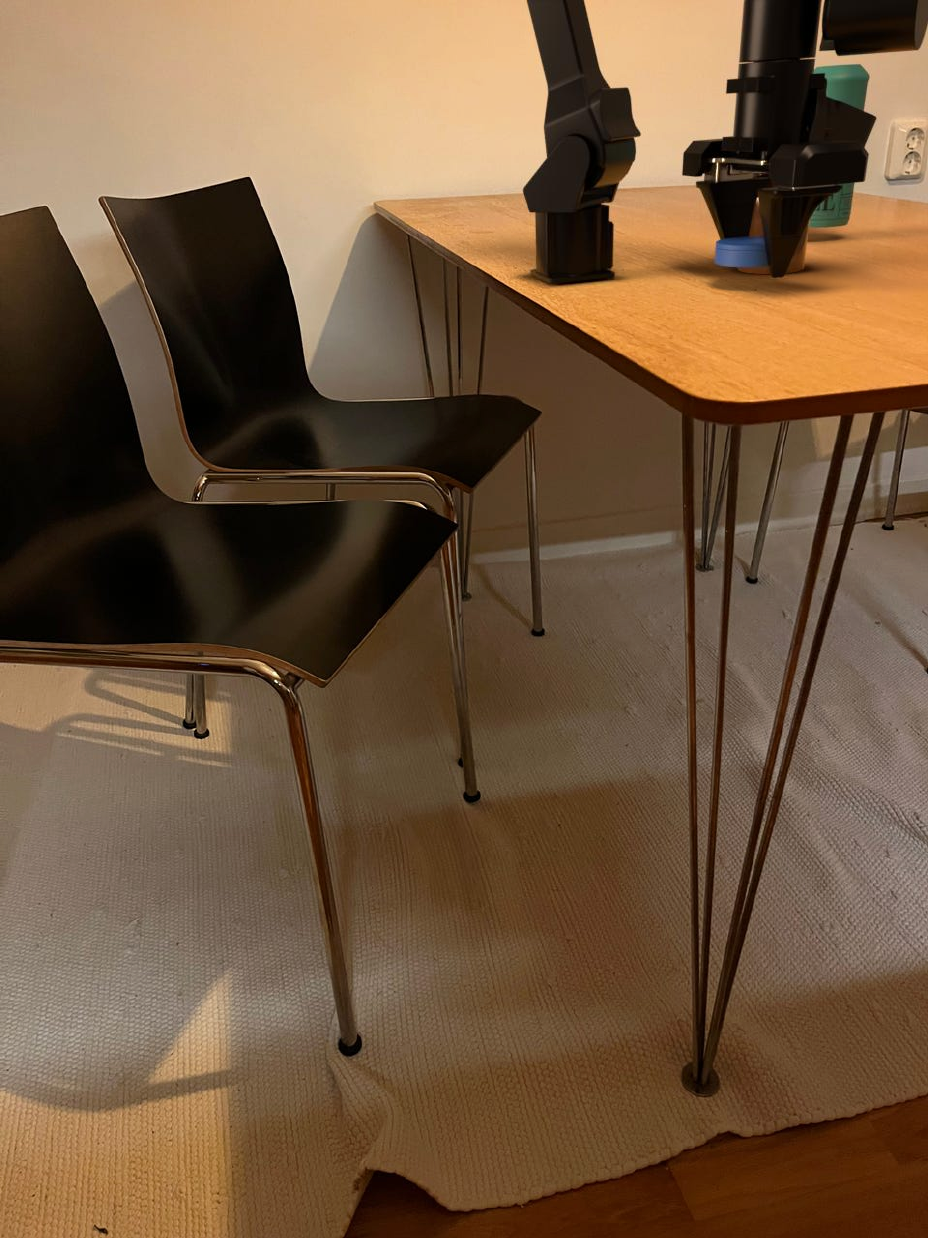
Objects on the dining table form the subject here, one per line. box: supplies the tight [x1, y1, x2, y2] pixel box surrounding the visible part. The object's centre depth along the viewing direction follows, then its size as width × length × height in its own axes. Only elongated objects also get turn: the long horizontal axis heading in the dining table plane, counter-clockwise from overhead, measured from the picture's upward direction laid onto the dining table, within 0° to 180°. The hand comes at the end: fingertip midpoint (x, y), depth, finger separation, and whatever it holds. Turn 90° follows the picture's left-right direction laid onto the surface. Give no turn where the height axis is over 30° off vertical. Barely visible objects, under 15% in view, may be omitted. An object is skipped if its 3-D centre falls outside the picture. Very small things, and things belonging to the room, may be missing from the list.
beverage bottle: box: [809, 35, 871, 229], centre depth 97 cm, size 6×7×20 cm
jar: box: [737, 172, 810, 275], centre depth 85 cm, size 6×6×8 cm
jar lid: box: [714, 236, 793, 268], centre depth 79 cm, size 6×6×2 cm
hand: (756, 271), depth 79 cm, fingers closed on jar lid, 6 cm apart
